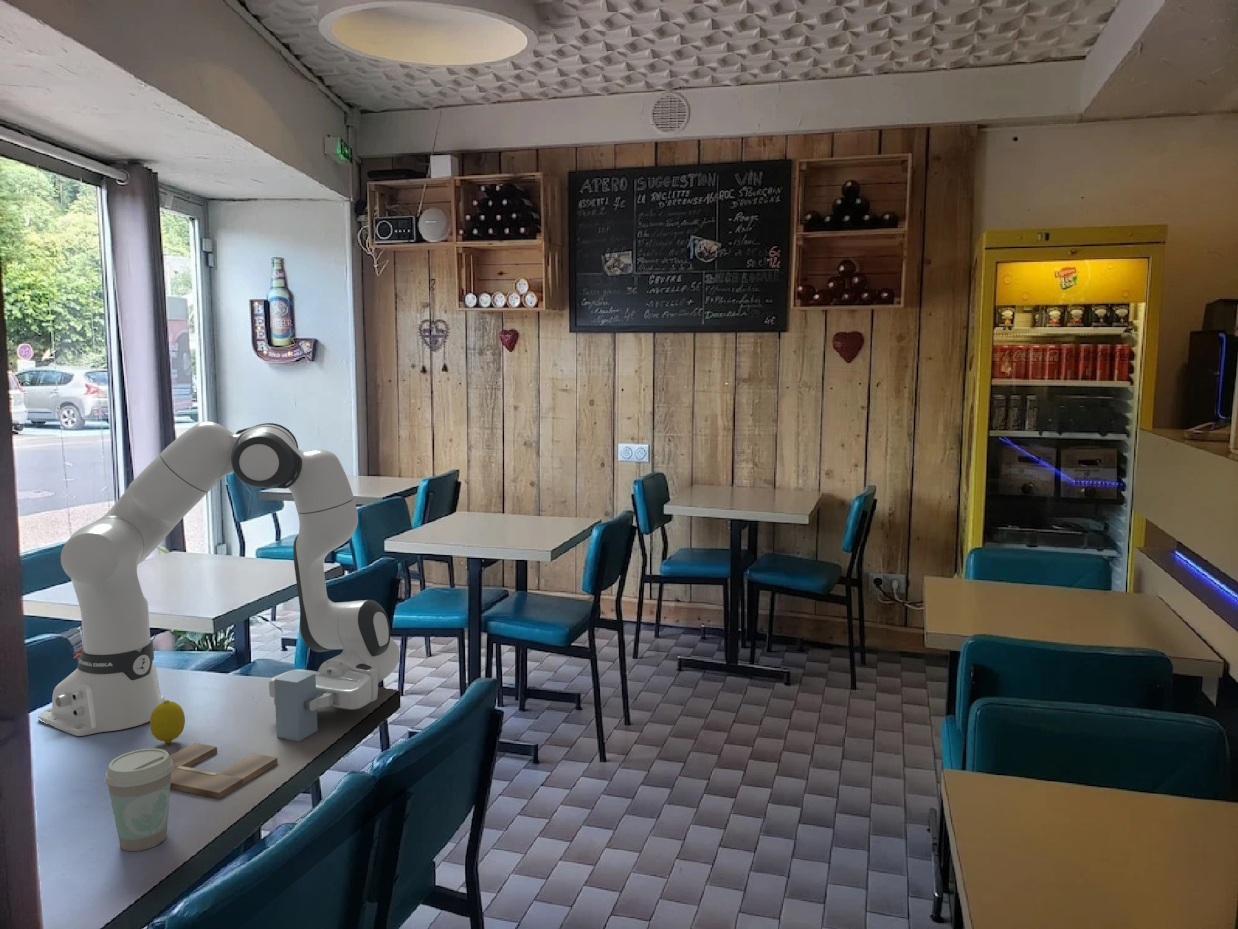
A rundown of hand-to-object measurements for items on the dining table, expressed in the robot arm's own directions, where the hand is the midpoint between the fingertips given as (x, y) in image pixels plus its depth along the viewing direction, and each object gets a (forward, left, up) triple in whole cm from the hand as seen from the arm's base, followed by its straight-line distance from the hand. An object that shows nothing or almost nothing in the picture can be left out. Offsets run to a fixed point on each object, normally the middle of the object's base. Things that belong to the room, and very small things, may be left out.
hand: (292, 704), depth 157 cm
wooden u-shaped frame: (-4, -17, -6) cm, 18 cm away
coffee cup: (+4, -36, -6) cm, 37 cm away
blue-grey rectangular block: (0, +1, -6) cm, 6 cm away
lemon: (-19, -10, -6) cm, 22 cm away
